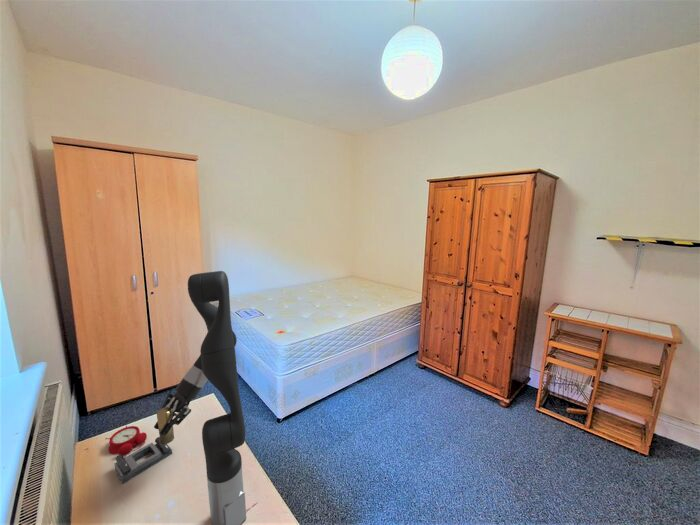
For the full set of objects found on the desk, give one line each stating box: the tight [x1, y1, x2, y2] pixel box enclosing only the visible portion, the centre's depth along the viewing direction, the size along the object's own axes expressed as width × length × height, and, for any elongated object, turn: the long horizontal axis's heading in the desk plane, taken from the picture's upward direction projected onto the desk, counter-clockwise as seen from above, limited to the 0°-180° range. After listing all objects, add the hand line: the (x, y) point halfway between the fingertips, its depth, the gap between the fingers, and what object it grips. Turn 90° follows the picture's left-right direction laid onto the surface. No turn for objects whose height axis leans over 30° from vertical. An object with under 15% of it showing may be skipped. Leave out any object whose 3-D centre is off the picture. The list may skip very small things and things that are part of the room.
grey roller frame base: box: [113, 436, 173, 484], centre depth 102 cm, size 9×15×5 cm, turn 143°
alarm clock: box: [105, 425, 148, 457], centre depth 110 cm, size 10×6×15 cm
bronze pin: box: [156, 407, 175, 445], centre depth 96 cm, size 4×4×11 cm
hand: (159, 431), depth 94 cm, fingers closed on bronze pin, 4 cm apart
